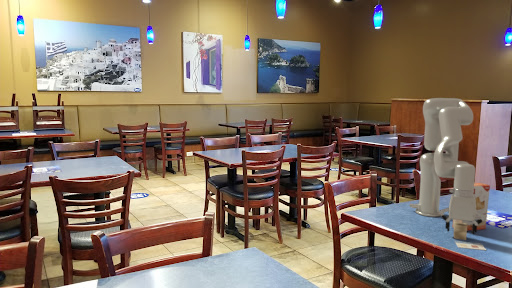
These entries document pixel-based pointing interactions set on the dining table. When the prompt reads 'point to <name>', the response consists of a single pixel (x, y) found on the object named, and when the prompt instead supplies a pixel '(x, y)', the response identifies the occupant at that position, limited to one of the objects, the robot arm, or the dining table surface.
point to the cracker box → (479, 205)
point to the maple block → (460, 230)
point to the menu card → (469, 245)
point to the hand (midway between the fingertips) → (460, 232)
